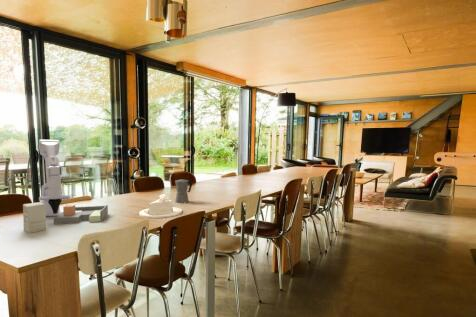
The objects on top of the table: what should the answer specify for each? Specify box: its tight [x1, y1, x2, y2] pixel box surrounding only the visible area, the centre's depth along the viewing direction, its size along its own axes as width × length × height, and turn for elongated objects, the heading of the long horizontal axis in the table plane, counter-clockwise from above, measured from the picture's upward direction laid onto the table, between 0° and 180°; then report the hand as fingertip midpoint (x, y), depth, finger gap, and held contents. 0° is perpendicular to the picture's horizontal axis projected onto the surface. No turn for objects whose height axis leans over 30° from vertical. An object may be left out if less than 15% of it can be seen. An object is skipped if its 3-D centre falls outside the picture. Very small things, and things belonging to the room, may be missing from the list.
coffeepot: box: [174, 176, 193, 204], centre depth 203 cm, size 15×9×18 cm, turn 62°
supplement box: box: [22, 201, 47, 234], centre depth 137 cm, size 7×7×13 cm
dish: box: [138, 193, 183, 219], centre depth 171 cm, size 25×25×11 cm
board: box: [53, 204, 109, 225], centre depth 157 cm, size 23×16×6 cm
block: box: [62, 204, 76, 215], centre depth 156 cm, size 4×4×4 cm
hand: (55, 213), depth 154 cm, fingers closed
